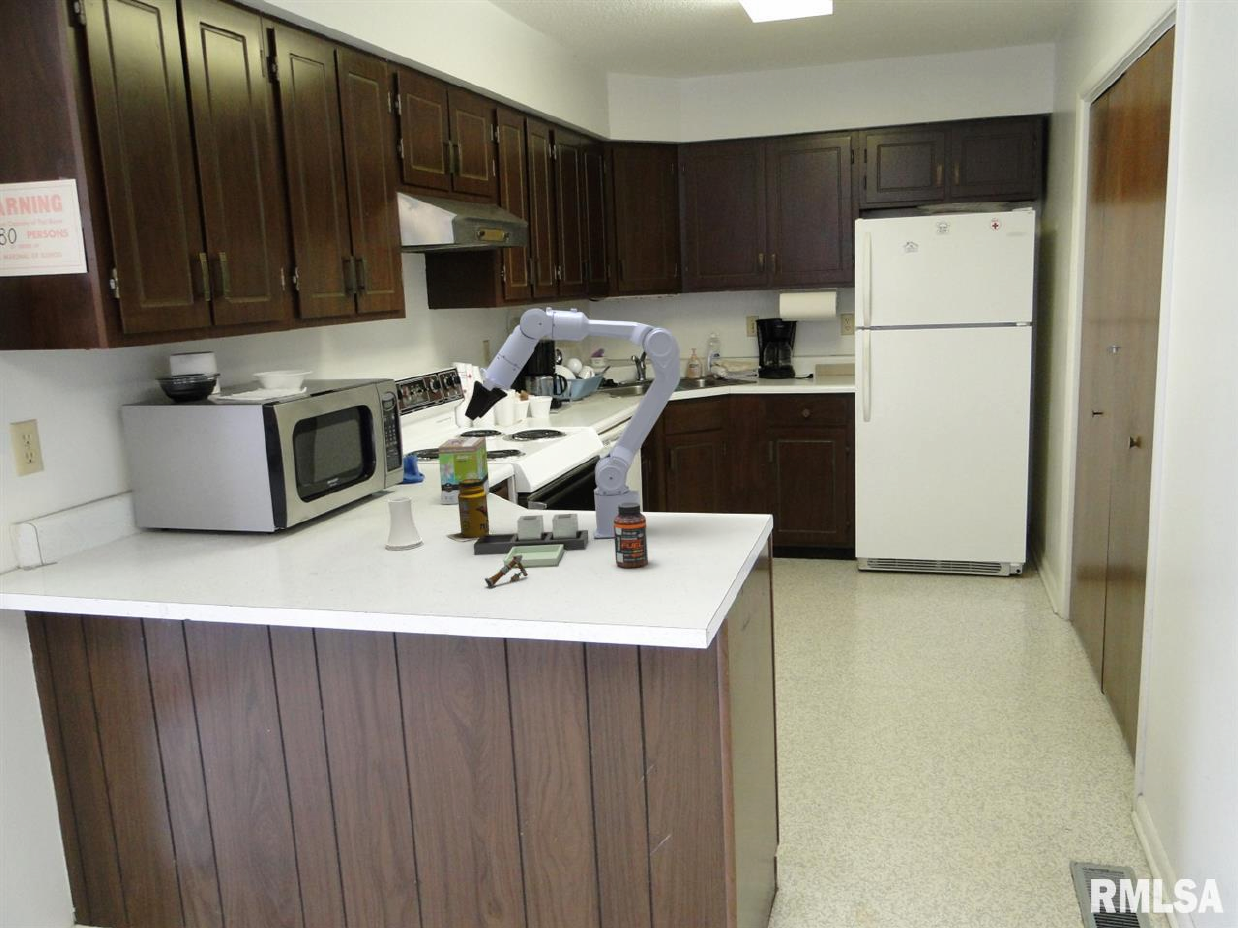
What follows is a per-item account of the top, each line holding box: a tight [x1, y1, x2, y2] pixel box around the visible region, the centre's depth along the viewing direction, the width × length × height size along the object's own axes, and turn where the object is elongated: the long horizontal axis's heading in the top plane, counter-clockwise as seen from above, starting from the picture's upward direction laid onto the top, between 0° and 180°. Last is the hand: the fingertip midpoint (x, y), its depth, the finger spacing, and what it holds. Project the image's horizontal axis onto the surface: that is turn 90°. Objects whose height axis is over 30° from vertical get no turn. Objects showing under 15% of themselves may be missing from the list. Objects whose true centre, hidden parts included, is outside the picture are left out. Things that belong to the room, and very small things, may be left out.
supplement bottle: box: [614, 502, 649, 569], centre depth 181 cm, size 6×6×11 cm
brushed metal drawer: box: [551, 513, 579, 540], centre depth 198 cm, size 4×4×6 cm
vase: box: [385, 496, 423, 551], centre depth 206 cm, size 8×8×10 cm
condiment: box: [446, 479, 496, 543], centre depth 211 cm, size 7×8×12 cm
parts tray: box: [503, 545, 565, 569], centre depth 189 cm, size 10×10×2 cm
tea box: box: [438, 436, 490, 505], centre depth 252 cm, size 15×10×15 cm
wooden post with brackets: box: [484, 555, 529, 589], centre depth 175 cm, size 2×8×4 cm, turn 129°
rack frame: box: [473, 529, 589, 555], centre depth 199 cm, size 22×8×2 cm, turn 86°
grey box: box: [516, 514, 545, 542], centre depth 199 cm, size 4×4×6 cm
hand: (472, 416), depth 201 cm, fingers open, 7 cm apart
